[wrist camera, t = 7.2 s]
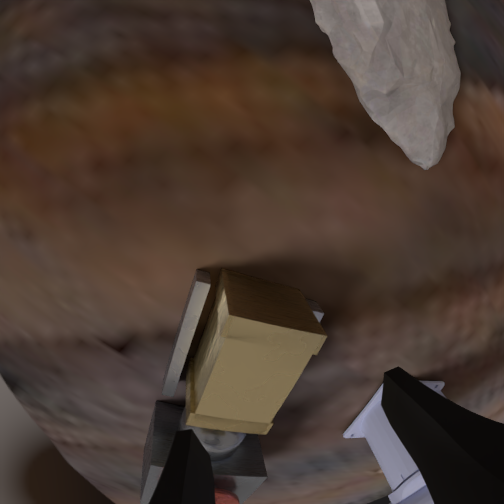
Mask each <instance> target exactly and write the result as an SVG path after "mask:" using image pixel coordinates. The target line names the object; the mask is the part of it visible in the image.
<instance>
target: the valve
mask: <svg viewBox="0 0 504 504" xmlns="http://www.w3.org/2000/svg"><path fill="white" fill-rule="evenodd" d="M210 286H211V281H210V273H208V272H204V271H201V270H197V269H196V272H195V276H194V279H193V282H192V285H191V288H190V291H189V294H188V298H187V301H186V304H185V307H184V311H183V314H182V317H181V320H180V324H179V327H178V330H177V334H176V337H175V340H174V344H173V347H172V351H171V354H170V358H169V361H168V365H167V368H166V372H165V375H164V379H163V388H162V395H166V396H171V397H174V393H175V390H176V387H177V384H178V381H179V378H180V375H181V372H182V369H183V366H184V363H185V359H186V356H187V353H188V350H189V347H190V344H191V341H192V338H193V335H194V332H195V329H196V326H197V323H198V321H199V318H200V315H201V312H202V309H203V306H204V303H205V300H206V297H207V294H208V291H209V289H210ZM305 300H306V301H307V303H308V305H309V306H310V308H311V310H312V311H313V313H314V315H315V316H316V318H317V320H318V321H319V323H320V321H321V319H322V317H323V315H324V313H323V311H322V310H321V308H320V306H319V305H318V303H317V302H316V301H312V300H308V299H305ZM188 429H192V430H193V431H194V433H195V434H196V436H197V437H198V439H199V440H200V442H201V443H202V445H203V446H204V448H205V449H206V450H207V452H208V453H209V455H210V459H211V464H212V470H213V476H214V486H215V503H216V504H242V503H243V502H244V501H245V500H246V499H247V498H248V497H249V496H250V495H251V494H252V493H253V492H254V491H255V490H256V489H257V488H258V487H259V486H260V485H261V484H262V483H263V481H264V480H265V479H266V478H267V472H266V468H265V464H264V459H263V455H262V450H261V446H260V442H259V437H258V434H251V433H241V432H232V431H223V430H216V429H209V428H202V427H196V426H190V425H186V406H185V407H183V406H178V405H173V404H169V403H164V402H160V401H156V404H155V407H154V411H153V415H152V419H151V423H150V427H149V431H148V435H147V439H146V444H145V448H144V454H143V466H142V480H141V497H140V503H141V504H148V503H149V501H150V499H151V497H152V495H153V492H154V490H155V488H156V486H157V483H158V481H159V478H160V475H161V473H162V470H163V468H164V465H165V462H166V459H167V456H168V453H169V450H170V447H171V443H172V440H173V437H174V433H175V432H176V431H181V430H188Z"/></svg>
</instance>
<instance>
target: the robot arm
mask: <svg viewBox="0 0 504 504" xmlns="http://www.w3.org/2000/svg"><path fill="white" fill-rule="evenodd" d="M444 385H445V383H444V382H443V381H419V380H417V379H416V378H414V377H413V376H411V375H410V374H409V373H407V372H406V371H404V370H403V369H402V368H400V367H396V368H394V369H391V370H389V371H387V372H385V373H384V381H383V384H382V385H381V387H380V388H379V389H378V391H377V392H376V393H375V395H374V396H373V397H372V399H371V400H370V401H369V403H368V404H367V405H366V406H365V408H364V409H363V410H362V411H361V413H360V414H359V415H358V416H357V418H356V419H355V420H354V421H353V423H352V424H351V425H350V426H349V427H348V429H347V430H346V431H345V432H344V434H343V436H344V438H359V437H365V438H366V440H367V441H368V443H369V445H370V447H371V449H372V451H373V453H374V455H375V457H376V459H377V461H378V463H379V465H380V467H381V469H382V471H383V473H384V475H385V477H386V479H387V481H388V482H389V484H390V486H391V488H392V490H393V493H391V494H389V495H388V497H389V498H390V501H391V503H389V504H504V424H503V423H499V422H496V421H493V420H491V419H488V418H485V417H483V416H480V415H478V414H476V413H473V412H471V411H469V410H467V409H465V408H463V407H461V406H459V405H457V404H456V403H454V402H452V401H450V400H448V399H447V398H446V397H445V396H444V394H443V393H442V392H441V389H442V388H443V387H444ZM148 504H216V503H215V486H214V476H213V470H212V464H211V459H210V455H209V453H208V452H207V450H206V449H205V448H204V446H203V445H202V443H201V442H200V440H199V439H198V437H197V436H196V434H195V433H194V431H193V430H192V429H188V430H181V431H176V432H175V433H174V437H173V440H172V443H171V447H170V450H169V453H168V456H167V459H166V462H165V465H164V468H163V470H162V473H161V475H160V478H159V481H158V483H157V486H156V488H155V490H154V492H153V495H152V497H151V499H150V501H149V503H148Z"/></svg>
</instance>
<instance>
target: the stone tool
mask: <svg viewBox="0 0 504 504" xmlns="http://www.w3.org/2000/svg"><path fill="white" fill-rule="evenodd" d="M310 2H311V4H312V7H313V11H314V15H315V21H316V23H317V24H318V26H319V27H320V29H321V30H322V32H324V33H326V34H327V35H328V36H329V38H330V41H331V44H332V46H333V54H334V57H335V58H336V60H337V61H338V62H339V64H340V65H341V66H342V68H343V69H344V70H345V72H346V73H347V75H348V76H349V77H350V79H351V80H352V82H353V85H354V88H355V90H356V93H357V96H358V99H359V101H360V102H361V104H362V105H363V107H364V108H365V110H366V111H367V113H368V114H369V116H370V117H371V118H372V120H373V121H374V122H376V123H377V124H378V125H379V126H381V127H382V128H383V129H384V131H385V132H386V133H387V134H388V136H389V137H390V139H391V140H392V141H393V142H394V143H396V144H397V145H398V146H400V147H401V149H402V150H403V152H404V153H405V154H406V156H407V157H408V158H409V160H410V161H411V162H413V163H415V164H417V165H419V166H421V167H422V168H423V169H424V170H429V168H430V167H432V166H433V165H435V164H437V163H438V162H439V160H440V159H441V156H442V154H443V152H444V150H445V148H446V142H447V136H448V134H449V133H450V131H451V130H452V129H453V128H454V127H455V125H454V118H453V113H452V112H453V102H454V99H455V97H456V95H457V93H458V91H459V88H460V75H461V72H460V69H459V66H458V63H457V59H456V55H455V52H454V44H455V41H454V39H453V37H452V35H451V33H450V31H449V29H450V25H451V23H450V21H449V18H448V13H447V8H446V4H445V0H310Z"/></svg>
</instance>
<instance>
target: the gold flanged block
mask: <svg viewBox="0 0 504 504" xmlns="http://www.w3.org/2000/svg"><path fill="white" fill-rule="evenodd" d="M215 290H216V297H215V300H214V303H213V306H212V309H211V311H210V314H209V317H208V320H207V323H206V325H205V328H204V331H203V334H202V337H201V340H200V342H199V345H198V348H197V351H196V354H195V357H194V358H193V357H190V360H189V363H188V366H187V369H186V425H190V426H196V427H202V428H209V429H216V430H223V431H232V432H241V433H251V434H264V435H266V434H267V433H268V431H269V430H270V428H271V427H272V425H273V424H274V423H273V418H274V416H275V415H276V413H277V412H278V410H279V409H280V407H281V406H282V404H283V402H284V401H285V399H286V398H287V396H288V394H289V393H290V391H291V390H292V388H293V386H294V385H295V383H296V382H297V380H298V378H299V377H300V375H301V373H302V372H303V370H304V368H305V366H306V365H307V363H308V361H309V360H310V358H311V356H312V354H314V355H317V354H318V352H319V350H320V349H321V347H322V345H323V343H324V342H325V340H326V338H327V334H326V333H325V331H324V329H323V328H322V326H321V324H320V323H319V321H318V320H317V318H316V316H315V315H314V313H313V311H312V310H311V308H310V306H309V305H308V303H307V301H306V300H305V298H304V297H303V295H302V293H301V292H300V290H299V289H296V288H292V287H288V286H284V285H281V284H277V283H273V282H270V281H266V280H263V279H259V278H255V277H252V276H248V275H245V274H241V273H237V272H234V271H230V270H227V269H223V268H221V271H220V274H219V277H218V279H217V282H216V285H215Z"/></svg>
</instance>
